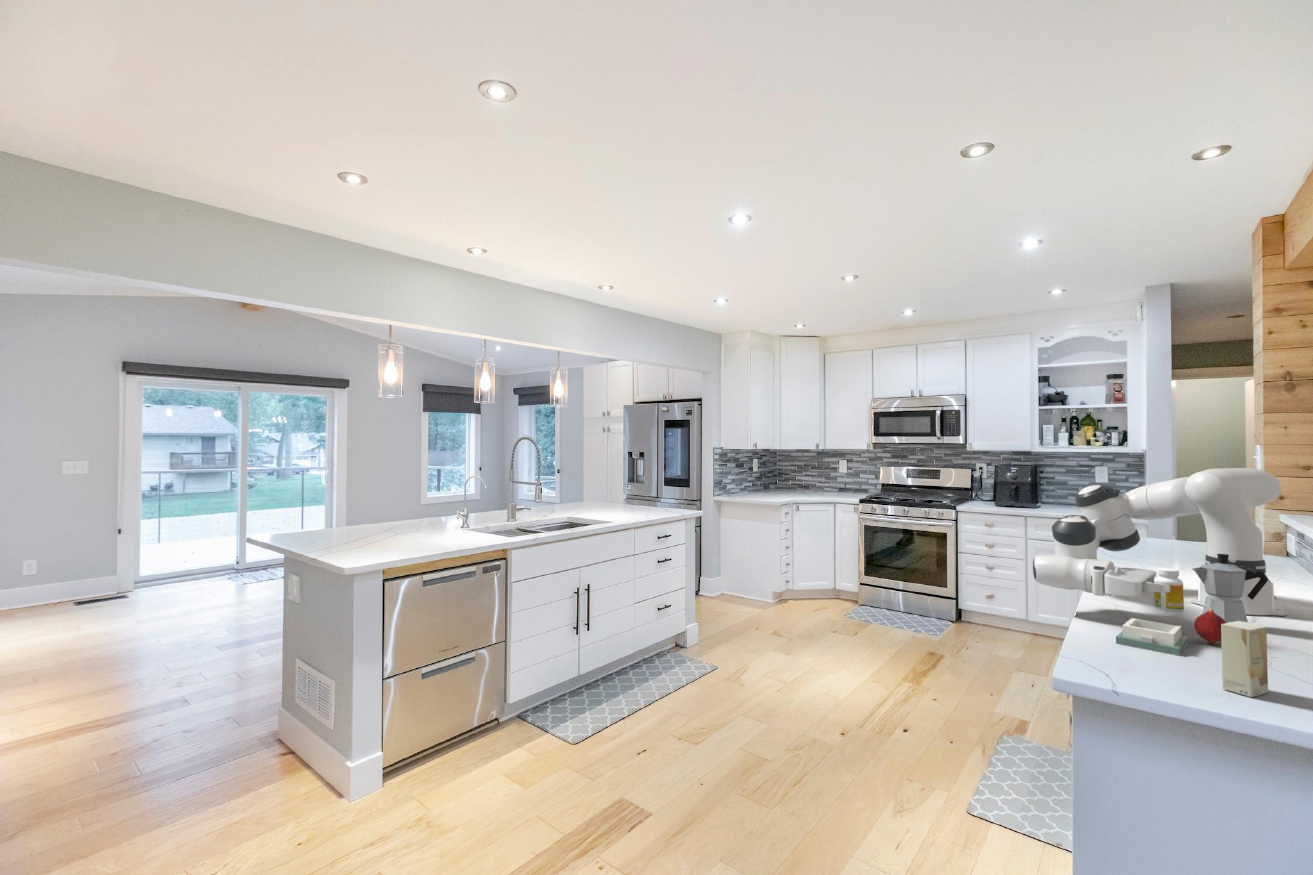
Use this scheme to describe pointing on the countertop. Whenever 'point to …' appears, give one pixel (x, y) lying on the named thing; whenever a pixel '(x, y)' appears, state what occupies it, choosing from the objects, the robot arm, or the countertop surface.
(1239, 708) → the countertop surface
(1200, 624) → the onion
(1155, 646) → the board
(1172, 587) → the supplement bottle
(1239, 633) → the skincare box
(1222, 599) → the coffee maker
